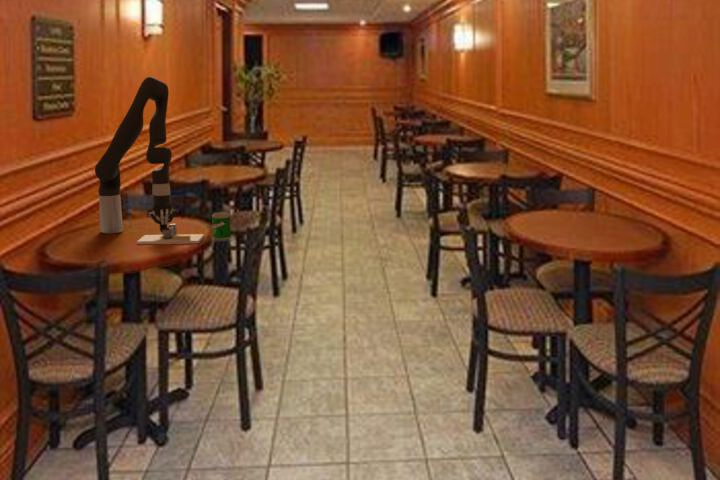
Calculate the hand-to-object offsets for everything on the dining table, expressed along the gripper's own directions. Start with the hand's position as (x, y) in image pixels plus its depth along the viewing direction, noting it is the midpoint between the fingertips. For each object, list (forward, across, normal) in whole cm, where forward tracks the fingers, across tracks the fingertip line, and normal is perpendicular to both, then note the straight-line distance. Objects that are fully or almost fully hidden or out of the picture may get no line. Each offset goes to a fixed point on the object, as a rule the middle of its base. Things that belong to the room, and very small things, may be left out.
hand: (163, 232), depth 336 cm
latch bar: (+1, +1, -4) cm, 5 cm away
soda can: (+3, +18, -20) cm, 27 cm away
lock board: (+2, 0, -6) cm, 7 cm away
